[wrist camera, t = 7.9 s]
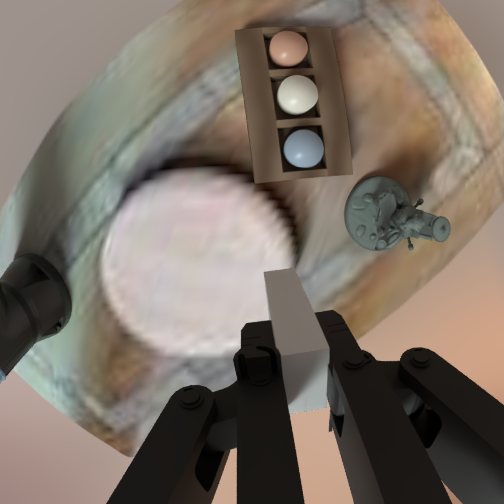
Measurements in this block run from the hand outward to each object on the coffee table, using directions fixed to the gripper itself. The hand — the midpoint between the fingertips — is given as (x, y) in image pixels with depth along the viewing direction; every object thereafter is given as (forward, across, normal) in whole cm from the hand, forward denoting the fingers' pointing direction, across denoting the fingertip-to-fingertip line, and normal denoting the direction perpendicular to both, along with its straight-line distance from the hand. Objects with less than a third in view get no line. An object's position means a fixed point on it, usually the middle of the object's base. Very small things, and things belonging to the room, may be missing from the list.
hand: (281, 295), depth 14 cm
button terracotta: (+23, +6, +21) cm, 31 cm away
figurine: (+25, +17, -2) cm, 30 cm away
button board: (+24, +6, +14) cm, 29 cm away
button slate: (+23, +6, +7) cm, 25 cm away
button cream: (+22, +6, +14) cm, 27 cm away
